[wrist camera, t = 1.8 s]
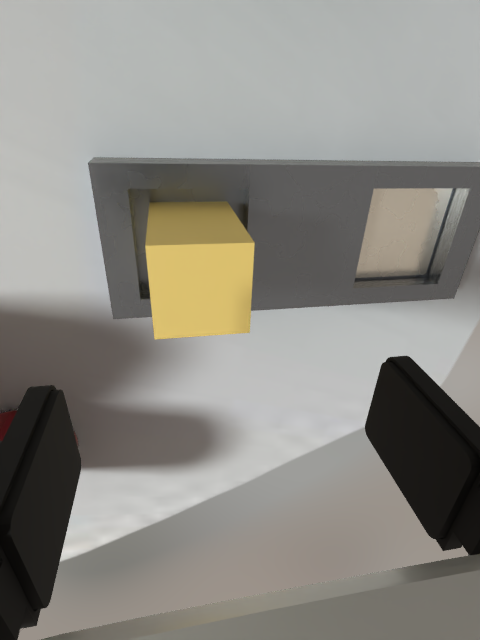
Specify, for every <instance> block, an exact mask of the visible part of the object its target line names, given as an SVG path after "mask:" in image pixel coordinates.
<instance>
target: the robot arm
mask: <svg viewBox="0 0 480 640" xmlns="http://www.w3.org/2000/svg"><path fill="white" fill-rule="evenodd" d="M365 431H366V435H367V437H368V438H369V440H370V442H371V443H372V445H373V447H374V448H375V450H376V451H377V453H378V455H379V456H380V458H381V460H382V461H383V463H384V464H385V466H386V468H387V469H388V471H389V472H390V474H391V476H392V477H393V479H394V480H395V482H396V484H397V485H398V487H399V488H400V490H401V491H402V493H403V495H404V497H405V498H406V500H407V501H408V503H409V504H410V506H411V508H412V509H413V511H414V512H415V514H416V516H417V517H418V519H419V520H420V522H421V524H422V525H423V527H424V529H425V530H426V532H427V533H428V535H429V536H430V537H431V538H433V539H436V540H437V542H438V544H439V545H440V547H441V548H442V550H443V551H445V550H451V549H456V548H461V547H462V545H463V547H464V548H465V549H466V551H467V552H468V556H464V557H459V558H452V559H447V560H441V561H436V562H431V563H425V564H420V565H414V566H409V567H403V568H398V569H392V570H387V571H381V572H376V573H370V574H366V575H360V576H354V577H349V578H344V579H338V580H333V581H328V582H322V583H317V584H312V585H307V586H301V587H296V588H290V589H285V590H280V591H275V592H269V593H264V594H259V595H253V596H248V597H243V598H238V599H233V600H228V601H222V602H217V603H212V604H207V605H202V606H197V607H192V608H187V609H181V610H176V611H171V612H166V613H160V614H156V615H150V616H146V617H141V618H135V619H131V620H126V621H121V622H116V623H112V624H107V625H102V626H98V627H93V628H88V629H83V630H79V631H74V632H69V633H65V634H61V635H57V636H53V637H49V638H45V639H41V640H480V427H479V426H478V425H477V424H476V423H475V422H474V421H473V420H472V419H471V418H470V417H469V416H468V415H467V414H466V413H465V412H464V411H463V410H462V409H461V408H460V407H459V406H458V405H457V404H456V403H455V402H454V401H453V400H452V399H451V398H450V397H449V396H448V395H447V394H446V393H445V392H444V391H443V390H442V389H441V388H440V387H439V386H438V385H437V384H436V383H435V382H434V381H433V380H432V379H431V378H430V377H429V376H428V375H427V374H426V373H425V372H424V371H423V370H422V369H421V368H420V367H419V366H418V365H417V364H416V363H415V362H414V361H413V360H412V359H411V358H410V357H409V356H399V357H390V358H388V359H387V360H386V362H384V363H383V364H382V365H381V369H380V372H379V376H378V380H377V383H376V387H375V391H374V395H373V398H372V402H371V406H370V409H369V413H368V417H367V421H366V424H365ZM80 471H81V458H80V454H79V450H78V446H77V442H76V439H75V435H74V431H73V427H72V423H71V420H70V416H69V412H68V408H67V404H66V401H65V397H64V393H63V391H62V390H56V388H55V387H54V386H53V385H50V386H38V387H30V388H29V389H28V390H27V392H26V394H25V396H24V398H23V400H22V402H21V404H20V406H19V408H18V410H17V412H16V414H15V416H14V418H13V420H12V422H11V424H10V426H9V428H8V430H7V432H6V434H5V436H4V438H3V440H2V441H0V640H17V639H18V635H19V632H20V629H21V628H27V627H32V626H36V625H37V621H38V617H39V613H40V609H42V608H46V607H47V606H48V605H49V602H50V599H51V595H52V591H53V587H54V583H55V578H56V574H57V570H58V566H59V561H60V557H61V553H62V548H63V544H64V540H65V536H66V531H67V527H68V523H69V518H70V514H71V510H72V506H73V501H74V497H75V493H76V489H77V484H78V480H79V476H80Z"/></svg>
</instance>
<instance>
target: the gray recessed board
mask: <svg viewBox="0 0 480 640" xmlns="http://www.w3.org/2000/svg"><path fill="white" fill-rule="evenodd" d="M88 165H89V171H90V177H91V183H92V190H93V196H94V202H95V208H96V214H97V221H98V227H99V233H100V239H101V245H102V251H103V258H104V264H105V270H106V276H107V282H108V288H109V295H110V301H111V307H112V313H113V319H122V318H139V317H152V309H151V299H150V289H149V279H148V269H147V258H146V248H145V243H146V233H147V223H148V213H149V203H150V202H228V203H229V205H230V206H231V208H232V209H233V211H234V212H235V214H236V215H237V217H238V218H239V220H240V221H241V223H242V224H243V226H244V227H245V229H246V230H247V232H248V233H249V235H250V236H251V238H252V239H253V241H254V242H255V245H254V263H253V281H252V299H251V311H254V310H270V309H286V308H303V307H319V306H336V305H352V304H368V303H385V302H401V301H418V300H434V299H450V298H454V297H455V294H456V291H457V289H458V286H459V283H460V280H461V278H462V275H463V272H464V270H465V267H466V264H467V261H468V259H469V256H470V253H471V251H472V248H473V245H474V242H475V240H476V237H477V234H478V232H479V229H480V163H479V162H410V161H331V160H252V159H173V158H93V159H92V160H91V161H90V162H88Z"/></svg>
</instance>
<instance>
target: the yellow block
mask: <svg viewBox="0 0 480 640" xmlns="http://www.w3.org/2000/svg"><path fill="white" fill-rule="evenodd" d="M254 245H255V242H254V241H253V239H252V238H251V236H250V235H249V233H248V232H247V230H246V229H245V227H244V226H243V224H242V223H241V221H240V220H239V218H238V217H237V215H236V214H235V212H234V211H233V209H232V208H231V206H230V205H229V203H228V202H150V203H149V213H148V223H147V233H146V243H145V248H146V258H147V269H148V279H149V289H150V299H151V309H152V319H153V329H154V339H167V338H181V337H195V336H209V335H223V334H237V333H250V316H251V299H252V281H253V263H254Z"/></svg>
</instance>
